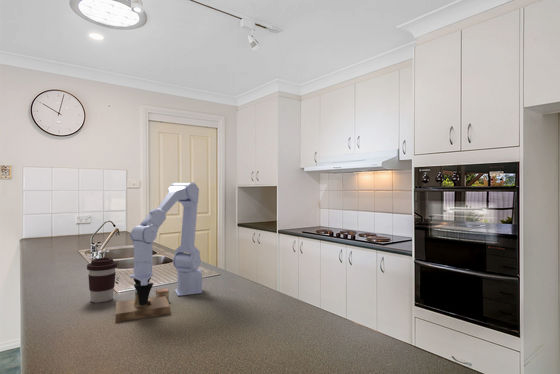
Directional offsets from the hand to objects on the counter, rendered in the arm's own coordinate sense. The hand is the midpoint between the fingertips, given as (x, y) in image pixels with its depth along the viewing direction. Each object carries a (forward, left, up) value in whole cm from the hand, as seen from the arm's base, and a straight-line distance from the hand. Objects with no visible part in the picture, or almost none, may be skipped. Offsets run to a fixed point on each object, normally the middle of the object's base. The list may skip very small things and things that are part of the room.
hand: (142, 301), depth 109 cm
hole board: (0, 0, -3) cm, 3 cm away
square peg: (0, 0, -3) cm, 3 cm away
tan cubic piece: (-7, -8, -3) cm, 11 cm away
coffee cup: (+13, -19, -4) cm, 23 cm away
